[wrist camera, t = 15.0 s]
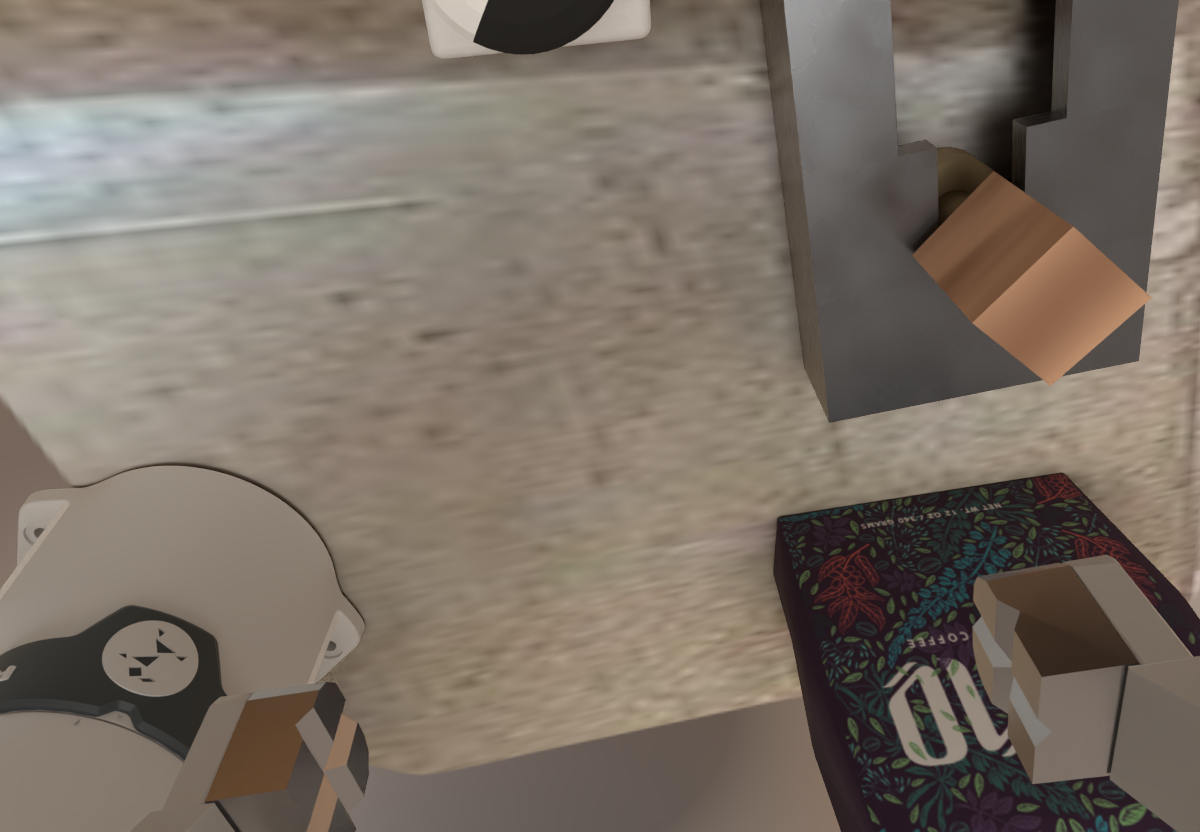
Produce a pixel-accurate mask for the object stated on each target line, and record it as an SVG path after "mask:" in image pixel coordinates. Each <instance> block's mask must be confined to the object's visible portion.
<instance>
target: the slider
mask: <svg viewBox="0 0 1200 832" xmlns="http://www.w3.org/2000/svg"><path fill="white" fill-rule="evenodd" d="M937 172H938V211H939V228H938V229H937V230H936V231H935V232H934V233H933V234H932V235H931V236H930V237H929V238H928V239H927V240H926V241H925V242H924V243H923V244H922V245H921V246H920V247H919V248H918V249H917V251H916V252H915V253H914V254H913V255H912V256H913V257H914V258H915V259H916V260H917V261H918V262H919V264H920V265H921V266H922V267H923V268H924V269H925V270H926V271H927V273H928V274H929V275H930V276H931V277H932V278H933V279H934V280H935V282H936V283H937V284H938V285H939V286H940V287H941V288H942V290H943V291H944V292H945V293H946V294H947V295H948V296H949V297H950V299H951V300H952V301H953V302H954V303H955V304H956V305H957V306H958V308H959V309H960V310H961V311H962V312H963V313H964V314H965V315H966V317H967V318H968V319H969V320H970V321H971V322H972V323H973V324H974V325H975V326H977V327H978V328H979V329H980V330H982V331H983V332H984V333H985V334H987V335H988V336H989V337H990V338H992V339H993V340H994V341H995V342H997V343H998V344H999V345H1000V346H1002V347H1003V348H1004V349H1005V350H1006V351H1008V352H1009V353H1010V354H1011V355H1013V356H1014V357H1015V358H1016V359H1018V360H1019V361H1020V362H1021V363H1023V364H1024V365H1025V366H1026V367H1028V368H1029V369H1030V370H1031V371H1033V372H1034V373H1035V374H1036V375H1038V376H1039V377H1040V378H1041V379H1043V380H1044V381H1045V382H1046V383H1048V384H1049V385H1050V386H1051V385H1052V384H1053V383H1054V382H1056V381H1057V380H1058V379H1059V378H1060V377H1061V376H1062V375H1064V374H1065V373H1066V372H1067V371H1068V370H1069V369H1071V368H1072V367H1073V366H1074V365H1075V364H1076V363H1077V362H1079V361H1080V360H1081V359H1082V358H1083V357H1084V356H1085V355H1087V354H1088V353H1089V352H1090V351H1091V350H1092V349H1093V348H1095V347H1096V346H1097V345H1098V344H1099V343H1100V342H1102V341H1103V340H1104V339H1105V338H1106V337H1107V336H1108V335H1110V334H1111V333H1112V332H1113V331H1114V330H1115V329H1116V328H1118V327H1119V326H1120V325H1121V324H1122V323H1123V322H1124V321H1126V320H1127V319H1128V318H1129V317H1130V316H1131V315H1133V314H1134V313H1135V312H1136V311H1137V310H1138V309H1139V308H1141V307H1142V306H1143V305H1144V304H1145V303H1146V302H1147V301H1149V300H1150V299H1151V298H1152V297H1150V296H1149V295H1148V294H1147V293H1146V292H1145V291H1144V290H1143V289H1142V288H1141V287H1139V286H1138V285H1137V284H1136V283H1135V282H1134V281H1133V280H1132V279H1131V278H1129V277H1128V276H1127V275H1126V274H1125V273H1124V272H1123V271H1122V270H1121V269H1120V268H1118V267H1117V266H1116V265H1115V264H1114V263H1113V262H1112V261H1111V260H1110V259H1109V258H1107V257H1106V256H1105V255H1104V254H1103V253H1102V252H1101V251H1100V250H1099V249H1098V248H1096V247H1095V246H1094V245H1093V244H1092V243H1091V242H1090V241H1089V240H1088V239H1086V238H1085V237H1084V236H1083V235H1082V234H1081V233H1080V232H1079V231H1078V230H1077V229H1075V228H1074V227H1073V226H1072V225H1070V224H1069V223H1068V222H1066V221H1065V220H1063V219H1062V218H1060V217H1059V216H1058V215H1056V214H1055V213H1053V212H1052V211H1050V210H1049V209H1048V208H1046V207H1045V206H1043V205H1042V204H1040V203H1039V202H1038V201H1036V200H1035V199H1033V198H1032V197H1030V196H1029V195H1028V194H1026V193H1025V192H1023V191H1022V190H1020V189H1019V188H1018V187H1016V186H1015V185H1013V184H1012V183H1010V182H1009V181H1008V180H1006V179H1005V178H1003V177H1002V176H1000V175H999V174H998V173H996V172H995V171H994V170H992V169H991V168H990V167H988V166H987V165H985V164H984V163H983V162H981V161H980V160H978V159H977V158H975V157H974V156H973V155H971V154H970V153H968V152H966V151H964V150H961V149H957V148H949V147H944V148H937Z"/></svg>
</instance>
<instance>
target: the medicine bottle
mask: <svg viewBox="0 0 1200 832" xmlns="http://www.w3.org/2000/svg"><path fill="white" fill-rule="evenodd" d="M422 3H423V9H424V14H425V20H426V25H427V31H428V36H429V42H430V47H431V50H432V52H433V54H434V55H435V56H437V57H438V58H442V59H449V58H458V57H468V56H478V55H488V54H498V53H511V54H535V53H541V52H547V51H550V50H553V49H556V48H559V47H566V46H576V45H586V44H595V43H605V42H615V41H625V40H634V39H641V38H644V37H646V36H647V35H648V34H649V32H650V29H651V12H650V0H422Z"/></svg>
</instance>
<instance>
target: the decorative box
mask: <svg viewBox="0 0 1200 832" xmlns="http://www.w3.org/2000/svg"><path fill="white" fill-rule="evenodd" d="M1102 555H1108V556H1110V557H1112V558H1114V559H1116V560H1117V562H1118V563H1119V564H1120V565H1121V567H1122V568H1123V569H1124V570H1125V572H1126V573H1127V574H1128V575H1129V577H1130V578H1131V579H1132V580H1133V582H1134V583H1135V584H1136V585H1137V587H1138V588H1139V589H1140V590H1141V592H1142V593H1143V594H1144V595H1145V597H1146V598H1147V599H1148V600H1149V602H1150V603H1151V604H1152V605H1153V607H1154V608H1155V609H1156V610H1157V612H1158V613H1159V614H1160V615H1161V617H1162V618H1163V619H1164V620H1165V622H1166V623H1167V624H1168V625H1169V627H1170V628H1171V629H1172V630H1173V632H1174V633H1175V634H1176V635H1177V637H1178V638H1179V639H1180V640H1181V642H1182V643H1183V644H1184V645H1185V647H1186V648H1187V649H1188V650H1189V652H1190V653H1191V654H1192V655H1193V657H1196V656H1200V619H1199V618H1198V617H1197V615H1196V613H1195V612H1194V611H1193V609H1192V608H1191V606H1190V605H1189V603H1188V602H1187V601H1186V599H1185V598H1184V597H1183V596H1182V595H1181V593H1180V592H1179V591H1178V590H1177V589H1176V588H1175V587H1174V586H1173V585H1172V584H1171V583H1170V582H1169V581H1168V580H1167V579H1166V578H1165V577H1164V575H1163V574H1162V573H1161V572H1160V571H1159V570H1158V569H1157V568H1156V567H1155V566H1154V565H1153V564H1152V563H1151V562H1150V561H1149V560H1148V559H1147V558H1146V557H1145V556H1144V555H1143V554H1142V553H1141V552H1140V551H1139V550H1138V549H1137V548H1136V547H1135V546H1134V545H1133V544H1132V543H1131V542H1130V541H1129V540H1128V538H1127V537H1126V536H1125V535H1124V534H1123V533H1122V532H1121V531H1120V530H1119V529H1118V528H1117V527H1116V526H1115V525H1114V524H1113V523H1112V522H1111V521H1110V520H1109V519H1108V518H1107V517H1106V516H1105V515H1104V514H1103V513H1102V512H1101V511H1100V510H1099V509H1098V508H1097V507H1096V506H1095V505H1094V504H1093V503H1092V501H1091V500H1090V499H1089V498H1088V497H1087V496H1086V495H1085V494H1084V493H1083V492H1082V491H1081V490H1080V489H1079V488H1078V487H1077V486H1076V485H1075V484H1074V483H1073V482H1072V481H1071V480H1070V479H1069V478H1068V477H1067V476H1066V475H1065V474H1061V473H1060V474H1053V475H1047V476H1041V477H1034V478H1028V479H1021V480H1015V481H1009V482H1002V483H996V484H989V485H983V486H977V487H970V488H964V489H957V490H951V491H945V492H938V493H932V494H925V495H919V496H913V497H906V498H900V499H893V500H887V501H881V502H874V503H868V504H861V505H855V506H849V507H842V508H836V509H829V510H823V511H817V512H810V513H804V514H797V515H791V516H785V517H780V518H779V519H778V524H777V536H776V548H775V559H774V571H773V572H774V577H775V581H776V585H777V588H778V592H779V596H780V599H781V603H782V606H783V610H784V614H785V617H786V621H787V625H788V628H789V632H790V635H791V639H792V644H793V649H794V654H795V659H796V664H797V669H798V675H799V680H800V685H801V690H802V695H803V700H804V705H805V711H806V716H807V721H808V726H809V731H810V736H811V741H812V746H813V750H814V753H815V757H816V760H817V763H818V766H819V768H820V772H821V774H822V777H823V780H824V783H825V786H826V789H827V792H828V795H829V797H830V800H831V803H832V806H833V809H834V812H835V815H836V818H837V821H838V823H839V826H840V829H841V832H1177V831H1176V830H1175V829H1173V828H1172V827H1171V826H1169V825H1168V824H1167V823H1165V822H1164V821H1163V820H1162V819H1160V818H1159V817H1158V816H1156V815H1155V814H1154V813H1153V812H1151V811H1150V810H1149V809H1147V808H1146V807H1145V806H1143V805H1142V804H1141V803H1140V802H1138V801H1137V800H1136V799H1134V798H1133V797H1132V796H1130V795H1129V794H1128V793H1127V792H1125V791H1124V790H1123V789H1121V788H1120V787H1119V786H1118V785H1116V784H1115V783H1114V782H1112V781H1111V780H1110V776H1102V777H1092V778H1083V779H1074V780H1065V781H1056V782H1047V783H1038V784H1032V782H1031V780H1030V778H1029V777H1028V775H1027V773H1026V771H1025V769H1024V767H1023V765H1022V763H1021V761H1020V759H1019V757H1018V755H1017V753H1016V751H1015V749H1014V747H1013V745H1012V743H1011V741H1010V739H1009V737H1008V714H1007V713H1006V712H1004V711H1003V710H1001V709H999V708H998V707H996V706H995V705H993V704H992V703H991V701H990V699H989V697H988V694H987V692H986V690H985V688H984V686H983V683H982V681H981V678H980V675H979V672H978V670H977V665H976V660H975V655H974V650H973V628H972V627H973V626H974V624H975V623H976V622H977V621H978V620H979V619H980V618H981V614H980V612H979V610H978V609H977V607H976V605H975V603H974V601H973V594H974V584H975V581H976V579H977V577H979V576H984V575H990V574H996V573H1002V572H1008V571H1014V570H1020V569H1025V568H1031V567H1037V566H1043V565H1049V564H1055V563H1061V564H1062V563H1063V562H1067V561H1073V560H1079V559H1085V558H1090V557H1096V556H1102Z"/></svg>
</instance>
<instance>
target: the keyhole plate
mask: <svg viewBox="0 0 1200 832" xmlns="http://www.w3.org/2000/svg"><path fill="white" fill-rule="evenodd" d="M1178 1H1179V0H1056V11H1055V35H1054V58H1053V82H1052V105H1051V111H1047V112H1043V113H1039V114H1034V115H1030V116H1026V117H1021V118H1017V119H1013V129H1012V179H1011V183H1012V184H1013V185H1015V186H1016V187H1018V188H1019V189H1020V190H1022V191H1023V192H1025V193H1026V194H1028V195H1029V196H1030V197H1032V198H1033V199H1035V200H1036V201H1038V202H1039V203H1040V204H1042V205H1043V206H1045V207H1046V208H1048V209H1049V210H1050V211H1052V212H1053V213H1055V214H1056V215H1058V216H1059V217H1060V218H1062V219H1063V220H1065V221H1066V222H1068V223H1069V224H1070V225H1072V226H1073V227H1074V228H1075V229H1077V230H1078V231H1079V232H1080V233H1081V234H1082V235H1083V236H1084V237H1085V238H1086V239H1088V240H1089V241H1090V242H1091V243H1092V244H1093V245H1094V246H1095V247H1096V248H1098V249H1099V250H1100V251H1101V252H1102V253H1103V254H1104V255H1105V256H1106V257H1107V258H1109V259H1110V260H1111V261H1112V262H1113V263H1114V264H1115V265H1116V266H1117V267H1118V268H1120V269H1121V270H1122V271H1123V272H1124V273H1125V274H1126V275H1127V276H1128V277H1129V278H1131V279H1132V280H1133V281H1134V282H1135V283H1136V284H1137V285H1138V286H1139V287H1141V288H1142V289H1143V290H1144V291H1145V292H1146V290H1147V281H1148V272H1149V263H1150V254H1151V245H1152V236H1153V227H1154V218H1155V209H1156V200H1157V191H1158V182H1159V173H1160V164H1161V155H1162V146H1163V137H1164V127H1165V118H1166V109H1167V100H1168V91H1169V82H1170V73H1171V64H1172V55H1173V46H1174V37H1175V28H1176V19H1177V10H1178ZM760 7H761V15H762V24H763V32H764V40H765V48H766V56H767V65H768V73H769V81H770V89H771V98H772V106H773V114H774V122H775V130H776V139H777V147H778V155H779V163H780V172H781V180H782V188H783V196H784V205H785V213H786V221H787V229H788V237H789V246H790V254H791V262H792V270H793V279H794V287H795V295H796V303H797V312H798V320H799V328H800V336H801V344H802V353H803V361H804V368H805V370H806V373H807V375H808V377H809V379H810V381H811V384H812V386H813V388H814V390H815V392H816V395H817V397H818V399H819V401H820V403H821V405H822V408H823V410H824V412H825V414H826V416H827V419H828V421H829V423H830V422H835V421H840V420H845V419H850V418H855V417H860V416H865V415H870V414H875V413H880V412H885V411H890V410H895V409H900V408H905V407H910V406H915V405H920V404H925V403H930V402H935V401H940V400H945V399H950V398H955V397H960V396H965V395H970V394H975V393H980V392H985V391H990V390H995V389H1000V388H1005V387H1010V386H1015V385H1020V384H1025V383H1030V382H1035V381H1040V380H1043V379H1041V378H1040V377H1039V376H1038V375H1036V374H1035V373H1034V372H1033V371H1031V370H1030V369H1029V368H1028V367H1026V366H1025V365H1024V364H1023V363H1021V362H1020V361H1019V360H1018V359H1016V358H1015V357H1014V356H1013V355H1011V354H1010V353H1009V352H1008V351H1006V350H1005V349H1004V348H1003V347H1002V346H1000V345H999V344H998V343H997V342H995V341H994V340H993V339H992V338H990V337H989V336H988V335H987V334H985V333H984V332H983V331H982V330H980V329H979V328H978V327H977V326H975V325H974V324H973V323H972V322H971V321H970V320H969V319H968V318H967V317H966V315H965V314H964V313H963V312H962V311H961V310H960V309H959V308H958V306H957V305H956V304H955V303H954V302H953V301H952V300H951V299H950V297H949V296H948V295H947V294H946V293H945V292H944V291H943V290H942V288H941V287H940V286H939V285H938V284H937V283H936V282H935V280H934V279H933V278H932V277H931V276H930V275H929V274H928V273H927V271H926V270H925V269H924V268H923V267H922V266H921V265H920V264H919V262H918V261H917V260H916V259H915V258H914V257H913V256H912V255H913V254H914V253H915V252H916V251H917V249H918V248H919V247H920V246H921V245H922V244H923V243H924V242H925V241H926V240H927V239H928V238H929V237H930V236H931V235H932V234H933V233H934V232H935V231H936V230H937V229H938V228H939V211H938V172H937V148H936V147H935V146H934V145H932V144H931V143H930V142H928V141H927V140H922V141H917V142H913V143H909V144H904V145H900V146H898V143H897V123H896V102H895V82H894V62H893V41H892V21H891V0H760ZM1144 308H1145V304H1144V305H1143V306H1142V307H1141V308H1139V309H1138V310H1137V311H1136V312H1135V313H1134V314H1133V315H1131V316H1130V317H1129V318H1128V319H1127V320H1126V321H1124V322H1123V323H1122V324H1121V325H1120V326H1119V327H1118V328H1116V329H1115V330H1114V331H1113V332H1112V333H1111V334H1110V335H1108V336H1107V337H1106V338H1105V339H1104V340H1103V341H1102V342H1100V343H1099V344H1098V345H1097V346H1096V347H1095V348H1093V349H1092V350H1091V351H1090V352H1089V353H1088V354H1087V355H1085V356H1084V357H1083V358H1082V359H1081V360H1080V361H1079V362H1077V363H1076V364H1075V365H1074V366H1073V367H1072V368H1071V369H1069V370H1068V371H1067V372H1066V373H1065V374H1064V375H1062V376H1065V375H1070V374H1075V373H1080V372H1085V371H1090V370H1095V369H1100V368H1105V367H1110V366H1115V365H1120V364H1125V363H1131V362H1136V361H1139V354H1140V345H1141V336H1142V326H1143V317H1144Z"/></svg>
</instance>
